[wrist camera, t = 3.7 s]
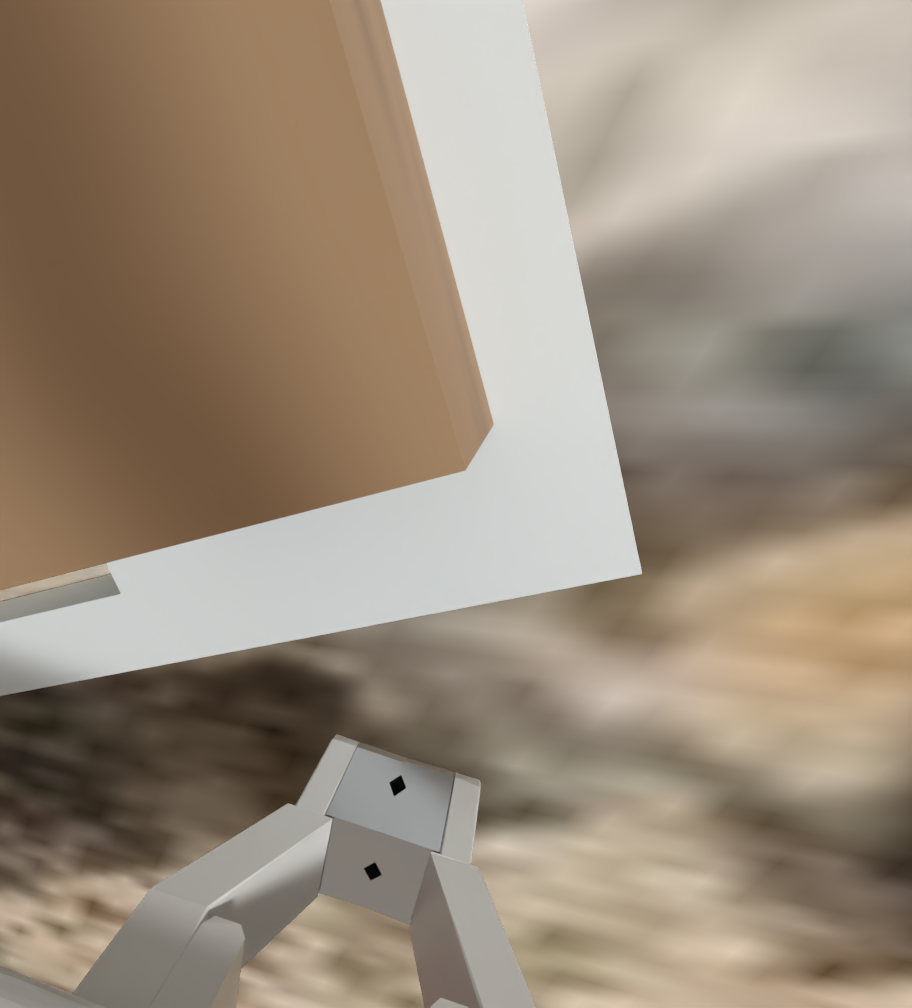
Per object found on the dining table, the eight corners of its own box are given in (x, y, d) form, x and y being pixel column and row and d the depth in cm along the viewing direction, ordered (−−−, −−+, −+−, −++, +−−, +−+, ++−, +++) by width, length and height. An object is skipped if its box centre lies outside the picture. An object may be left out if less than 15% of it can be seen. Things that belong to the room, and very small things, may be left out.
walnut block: (181, 510, 10) (-28, 597, 6) (22, 153, 8) (-387, -18, 5) (494, 424, 9) (464, 470, 5) (372, -32, 7) (184, -505, 3)
